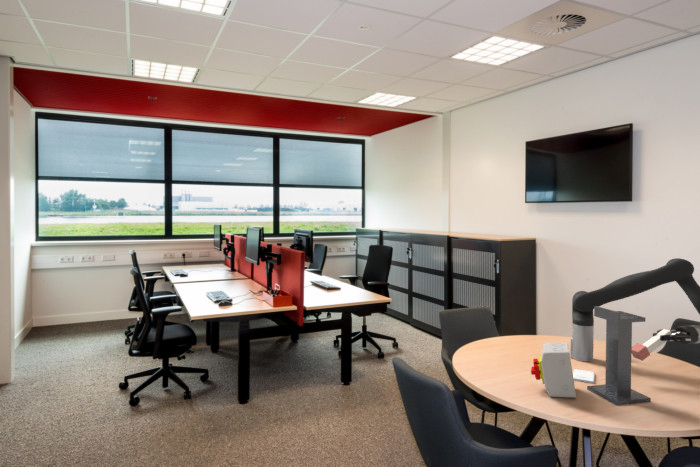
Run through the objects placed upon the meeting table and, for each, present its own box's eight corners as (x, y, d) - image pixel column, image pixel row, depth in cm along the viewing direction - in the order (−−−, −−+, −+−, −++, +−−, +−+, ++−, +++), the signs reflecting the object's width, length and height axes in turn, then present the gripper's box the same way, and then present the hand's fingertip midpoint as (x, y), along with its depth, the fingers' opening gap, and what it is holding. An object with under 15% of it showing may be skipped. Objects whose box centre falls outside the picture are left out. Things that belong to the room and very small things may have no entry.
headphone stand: (619, 386, 178) (620, 303, 177) (650, 402, 164) (652, 311, 162) (587, 389, 176) (588, 305, 174) (616, 405, 161) (617, 313, 159)
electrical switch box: (536, 386, 184) (528, 340, 185) (574, 387, 178) (567, 339, 178) (534, 400, 171) (526, 349, 172) (576, 401, 165) (568, 349, 165)
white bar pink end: (665, 334, 186) (660, 325, 186) (674, 336, 182) (670, 328, 182) (633, 357, 184) (629, 348, 183) (642, 360, 180) (638, 352, 179)
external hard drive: (594, 375, 192) (594, 385, 182) (573, 372, 197) (572, 381, 186) (594, 372, 192) (594, 381, 182) (573, 368, 197) (572, 377, 186)
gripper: (676, 322, 193) (643, 324, 190) (707, 330, 179) (672, 332, 176) (675, 338, 193) (642, 341, 190) (707, 347, 180) (672, 350, 176)
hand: (657, 337), depth 183 cm, fingers closed on white bar pink end, 3 cm apart
